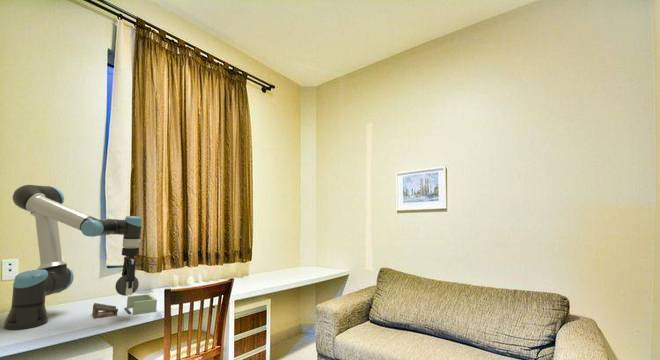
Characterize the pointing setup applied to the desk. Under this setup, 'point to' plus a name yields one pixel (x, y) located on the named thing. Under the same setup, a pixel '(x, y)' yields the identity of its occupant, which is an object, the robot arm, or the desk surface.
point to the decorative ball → (122, 285)
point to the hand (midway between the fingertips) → (126, 292)
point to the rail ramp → (104, 310)
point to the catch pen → (142, 303)
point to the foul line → (127, 310)
